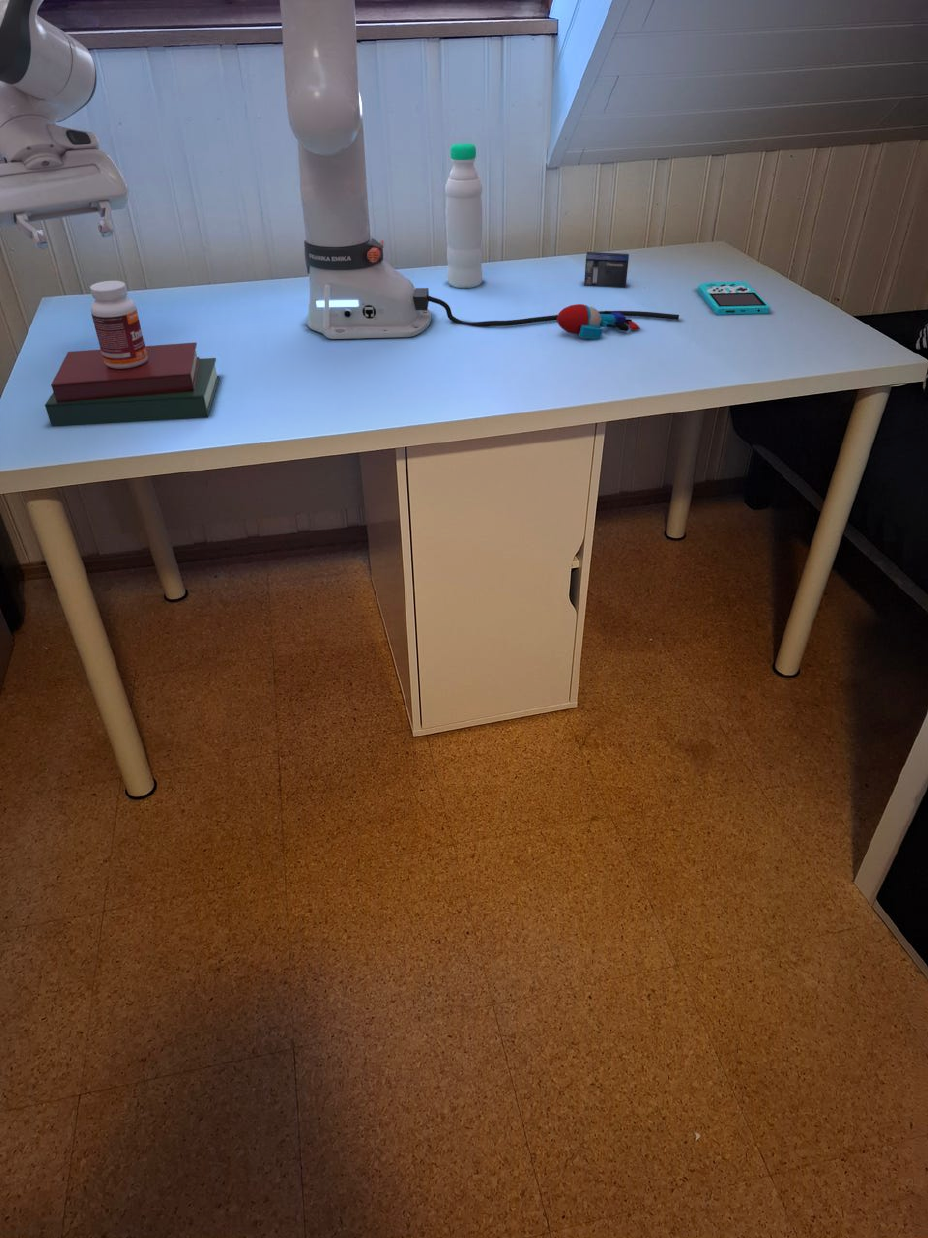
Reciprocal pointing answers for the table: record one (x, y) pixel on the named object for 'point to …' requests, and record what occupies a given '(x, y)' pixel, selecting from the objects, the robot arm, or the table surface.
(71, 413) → the lower book
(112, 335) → the pill bottle
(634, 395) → the table surface
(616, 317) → the toy figure
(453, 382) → the table surface
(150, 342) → the table surface
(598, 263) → the mini dv tape
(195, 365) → the upper book
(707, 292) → the handheld game console
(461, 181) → the water bottle
